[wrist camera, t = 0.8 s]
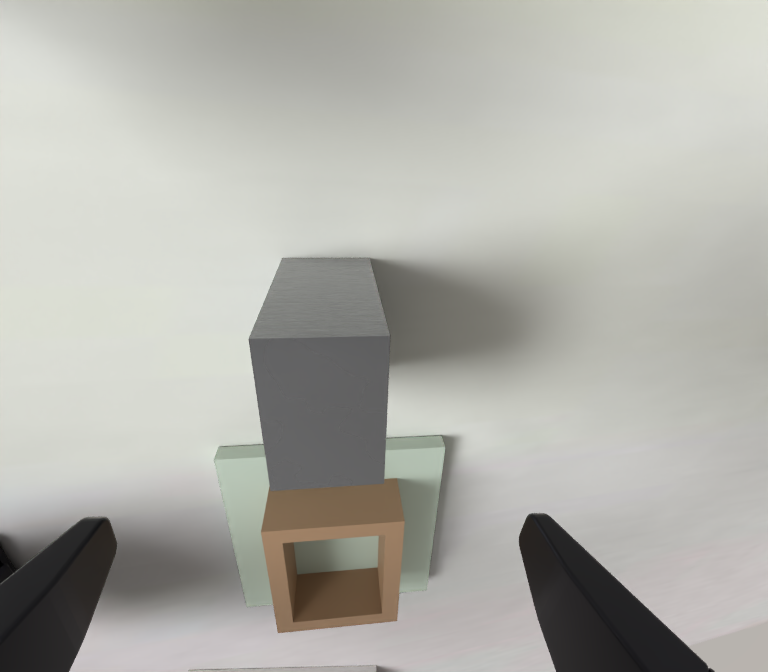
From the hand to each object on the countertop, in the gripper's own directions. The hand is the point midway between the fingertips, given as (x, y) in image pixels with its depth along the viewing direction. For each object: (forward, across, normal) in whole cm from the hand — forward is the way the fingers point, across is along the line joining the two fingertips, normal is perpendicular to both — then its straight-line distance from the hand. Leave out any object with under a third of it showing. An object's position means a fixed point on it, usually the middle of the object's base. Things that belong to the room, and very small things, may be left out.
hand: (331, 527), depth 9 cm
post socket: (+12, -1, +16) cm, 20 cm away
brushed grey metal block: (+12, 0, +1) cm, 12 cm away
